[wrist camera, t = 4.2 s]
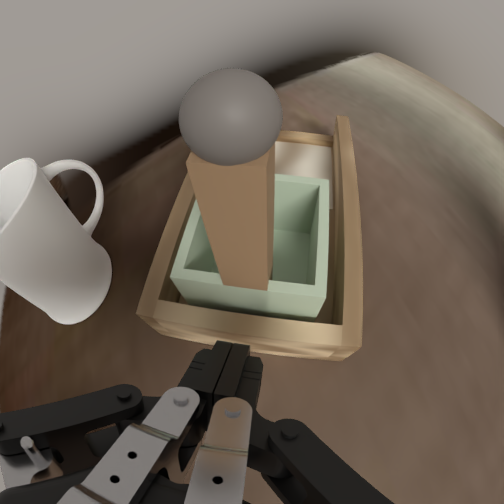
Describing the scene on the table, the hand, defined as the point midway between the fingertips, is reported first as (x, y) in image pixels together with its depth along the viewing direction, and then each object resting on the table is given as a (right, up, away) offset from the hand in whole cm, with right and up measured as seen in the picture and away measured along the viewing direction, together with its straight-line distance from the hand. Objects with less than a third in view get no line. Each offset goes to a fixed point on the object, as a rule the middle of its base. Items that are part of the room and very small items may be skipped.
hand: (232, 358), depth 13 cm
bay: (+2, +7, +13) cm, 15 cm away
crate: (+1, +3, +9) cm, 10 cm away
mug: (-15, +3, +11) cm, 19 cm away
